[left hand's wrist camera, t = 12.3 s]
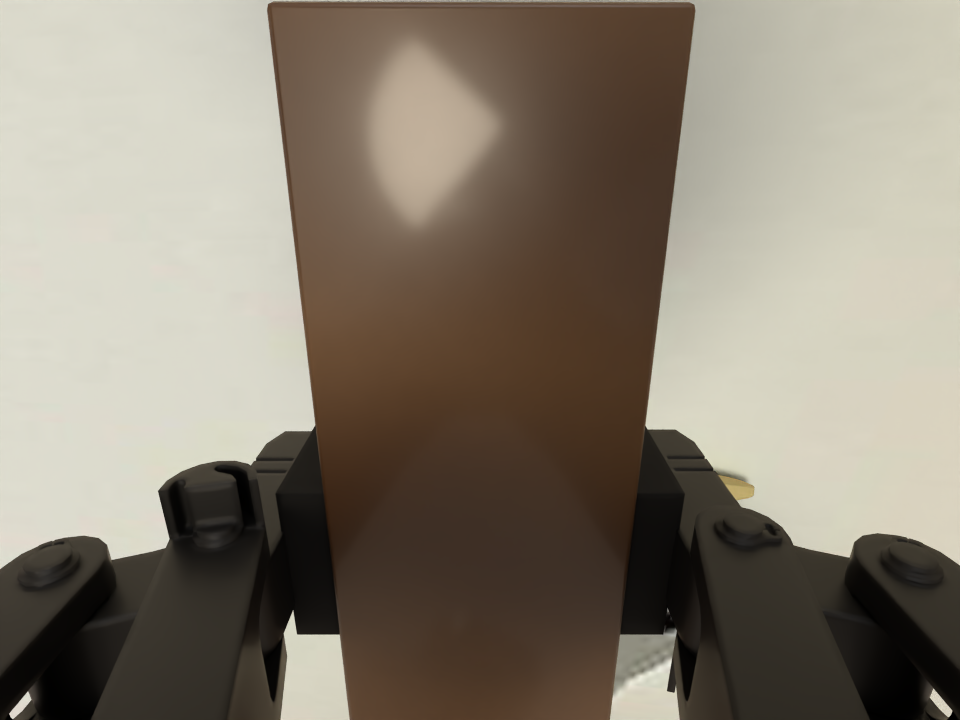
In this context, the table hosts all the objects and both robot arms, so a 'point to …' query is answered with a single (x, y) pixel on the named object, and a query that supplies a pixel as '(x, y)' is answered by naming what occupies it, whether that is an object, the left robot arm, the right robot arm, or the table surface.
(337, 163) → the beam
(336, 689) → the table surface
